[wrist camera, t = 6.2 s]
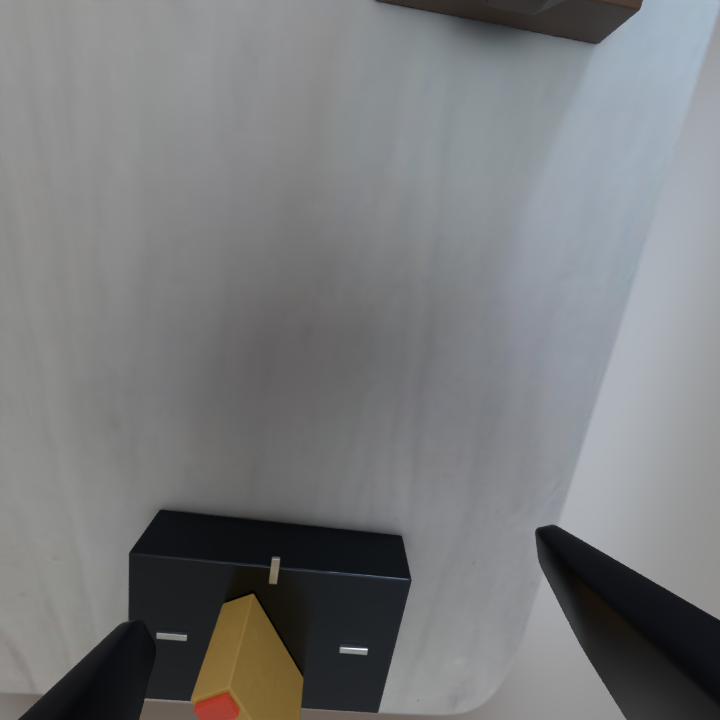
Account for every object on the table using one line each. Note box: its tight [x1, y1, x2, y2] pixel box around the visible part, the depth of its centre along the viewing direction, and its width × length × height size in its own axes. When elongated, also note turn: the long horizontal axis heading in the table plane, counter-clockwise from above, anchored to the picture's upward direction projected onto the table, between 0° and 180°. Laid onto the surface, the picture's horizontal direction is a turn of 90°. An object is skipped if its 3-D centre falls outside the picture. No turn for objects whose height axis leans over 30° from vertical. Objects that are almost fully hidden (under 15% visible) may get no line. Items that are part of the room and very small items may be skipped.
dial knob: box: [191, 594, 303, 720], centre depth 16 cm, size 6×2×4 cm, turn 21°
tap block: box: [129, 510, 412, 713], centre depth 20 cm, size 13×10×3 cm
